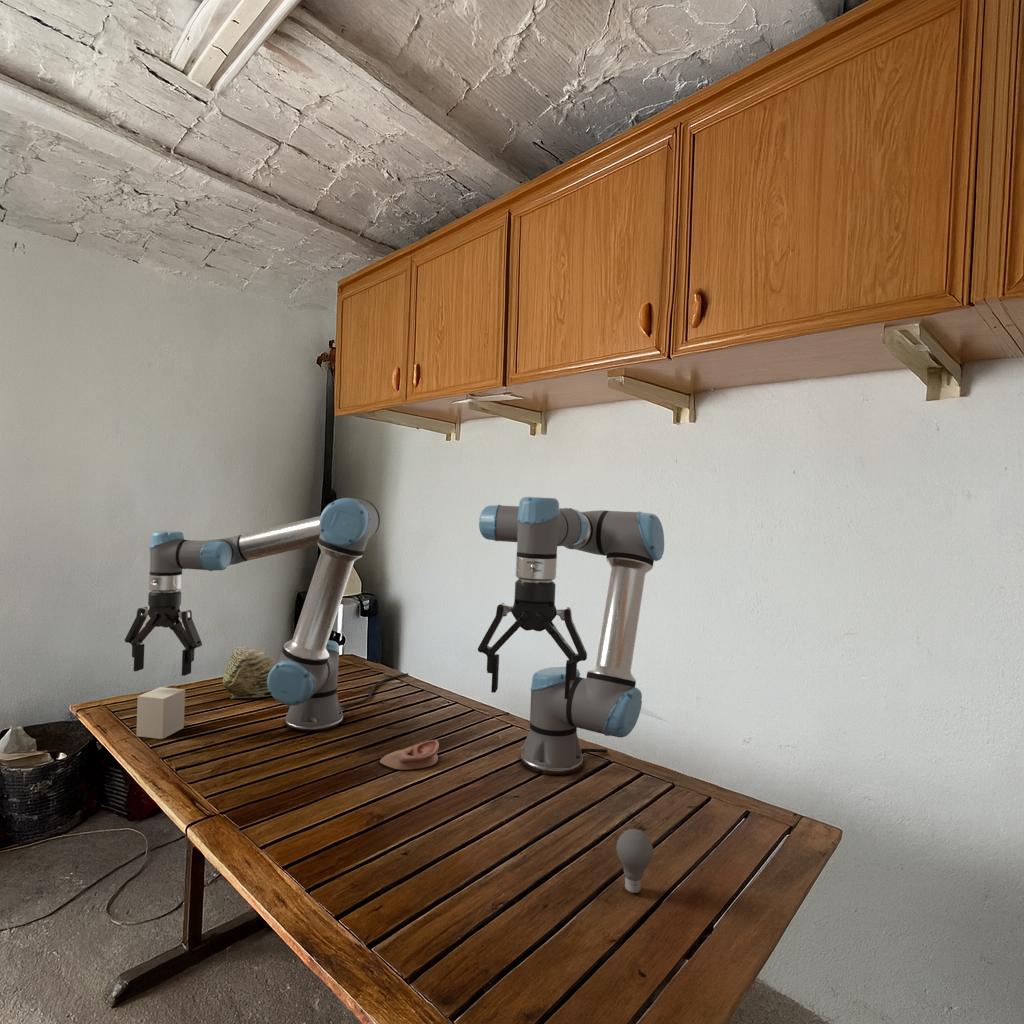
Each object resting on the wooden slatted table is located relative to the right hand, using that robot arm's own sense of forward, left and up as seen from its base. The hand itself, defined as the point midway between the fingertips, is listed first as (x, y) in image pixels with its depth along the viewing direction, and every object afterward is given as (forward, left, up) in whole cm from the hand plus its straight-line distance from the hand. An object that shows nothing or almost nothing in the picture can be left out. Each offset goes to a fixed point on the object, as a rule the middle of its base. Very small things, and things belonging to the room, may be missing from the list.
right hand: (530, 693), depth 118 cm
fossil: (+50, -104, -28) cm, 118 cm away
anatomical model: (+13, -42, -28) cm, 53 cm away
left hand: (+72, -76, -13) cm, 105 cm away
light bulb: (-12, +18, -28) cm, 36 cm away
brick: (+72, -77, -28) cm, 109 cm away
